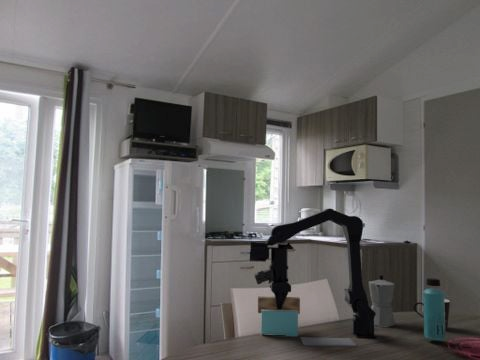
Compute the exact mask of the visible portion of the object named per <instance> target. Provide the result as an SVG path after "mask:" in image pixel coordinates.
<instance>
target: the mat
mask: <svg viewBox="0 0 480 360" xmlns="http://www.w3.org/2000/svg"><path fill="white" fill-rule="evenodd" d="M300 340H301V343H302V345H303V346H307V347H308V346H309V347H310V346H311V347H312V346H313V347H314V346H316V347H319V346H320V347H347V348H348V347H352V348H353V347H357V344H356V343H355V342H354V341H353V340H352V339H351V337H350V338H349V337H347V338H346V337H343V338H342V337H310V336H309V337H304V336H303V337H301V336H300Z"/></svg>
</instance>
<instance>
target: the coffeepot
mask: <svg viewBox="0 0 480 360" xmlns="http://www.w3.org/2000/svg"><path fill="white" fill-rule="evenodd" d="M378 277H379V279H376V280H370V281H368V286H369V293H370V299H371V302H372V303H371V304H372V305H371V306H370V308H371V309H372V310H373V311H374V312H375V313H376V315H375V318H374V324H375V325H378V326H377V327H379V326H393V325H394V326H396V323H395V316H394V313H393V312H394V311H393V307H392V302H393V300H394V299H393V298H394V292H395V291H394V290H395V285H396V284H395V283H393V282H391V281H387V279H385V278H384V275H382V274H379V275H378ZM394 326H393V327H394Z"/></svg>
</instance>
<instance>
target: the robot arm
mask: <svg viewBox="0 0 480 360" xmlns="http://www.w3.org/2000/svg"><path fill="white" fill-rule="evenodd" d="M328 221H330V222H331V223H334V224H337V225H338V226H339V227H340V226H341V229H342V233H343V236H344V237H345V240H346V247H347V263H348V278H349V279H348V280H349V281H348V282H349V285H348V288H344V289H343V290H344V295H345V296H344V301H345V302H346V305H347V306H348V308H350V309H351V310H352V313H353V314H352V319H351V321H350V322H351V325H350V327H351V328H350V329H351V333H352V334H353V335H354V336H355V337H356V338H373V339H374V338H377V335H376V334H375V326H374V318H375V315H376V313H375V312H374V311H373V310H372V309H371V306H370V305H369V301H368V300H369V298H368V296H367V293H366V289H365V287H364V283H363V270H362V257H361V256H362V255H361V254H362V253H361V240H362V236H363V232H364V231H363V229H364V221H363V219H362V218H360V217H359V216H357V215H347V214H345V213H342V212H339V211H337V210H335V209H333V208H326V209H324V210H322V211H320V212H317V213H314V214H312V215H309V216H307V217H305V218H301V219H299V220H297V221H295V222H289V223H284V224H278V225H275V226H274V227H272V229H271V231H270V236H269V237H268V239H267V240H266V242H265V241H264V242H262V241H260V242H259V241H258V242H257V241H250V250H249V262H250V263H252V262H253V263H256V262H257V263H266V261H267V260H269V259H270V265H269V268H267V269H264V270H260V271H258V272H255V273H254V274H253V275H254V279H255V282H256V285H261V284H262V283H265V282H268V284H270V285H269V288H270V291H271V292H272V293H273V295H274V297H276V303H277V309H278V310H281V308H282V306H283V304H284V301H285V299H286V297H288V295H289V293H292V285H291V283H290V282H289V277H288V271H289V265H288V263H289V261H288V260H289V259H288V257H289V256H288V254H289V252H288V251H289V250H294V247H293V246H292V244H291V243H290V242H289V241H288V240H290V239H291V238H292V237H295V236H296V235H297V234H299V233H301V232H303V231H306V230H308V229H310V228H313V227H317V226H318V225H321V224H323V223H326V222H328ZM286 241H287V242H286ZM285 242H286V243H285ZM276 244H277V246H275V245H276Z"/></svg>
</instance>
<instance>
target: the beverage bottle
mask: <svg viewBox="0 0 480 360" xmlns="http://www.w3.org/2000/svg"><path fill="white" fill-rule="evenodd" d="M425 285H426V286H429V287H428V288H426V289H424V290H423V292H422V297H423V304H424V306H423V314H422V316H424V318H423V335H424V338H426V339H429V340H433V341H445V340H446V338H447V335H446V331H447V330H446V325H445V304H444V299H445V292H444V291H443V290H441V289H439V288H430V286H431V287H440V286H441V280H440V279H439V278H434V277H433V278H432V277H431V278H430V277H428V278H426V282H425Z"/></svg>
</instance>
